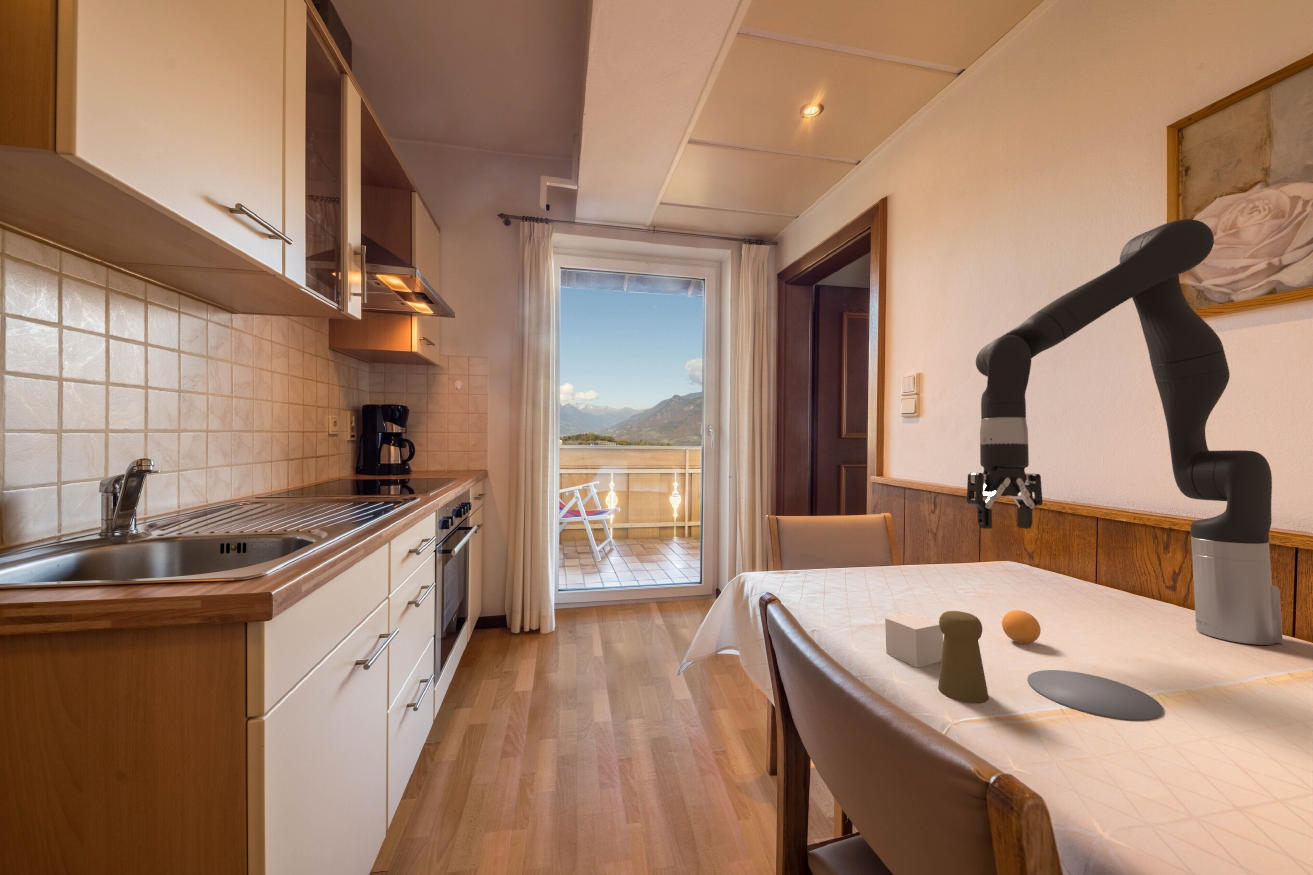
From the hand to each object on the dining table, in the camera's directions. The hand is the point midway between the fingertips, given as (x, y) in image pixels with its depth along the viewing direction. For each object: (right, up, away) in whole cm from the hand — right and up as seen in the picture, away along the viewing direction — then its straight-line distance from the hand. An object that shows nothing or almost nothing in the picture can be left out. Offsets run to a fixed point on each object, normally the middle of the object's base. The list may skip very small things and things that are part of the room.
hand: (1005, 528), depth 93 cm
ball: (-2, -16, -6) cm, 17 cm away
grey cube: (-23, -19, -12) cm, 32 cm away
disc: (-6, -18, -25) cm, 31 cm away
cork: (-23, -19, -24) cm, 38 cm away
